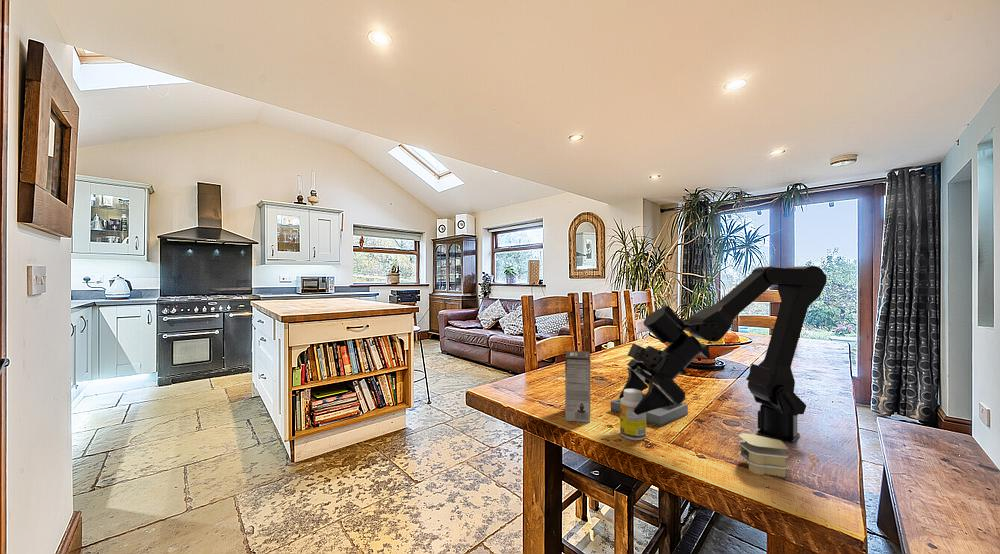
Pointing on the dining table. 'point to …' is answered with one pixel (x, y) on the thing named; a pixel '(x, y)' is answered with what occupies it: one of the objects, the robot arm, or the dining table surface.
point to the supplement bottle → (632, 416)
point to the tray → (658, 412)
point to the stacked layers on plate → (763, 454)
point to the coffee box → (577, 386)
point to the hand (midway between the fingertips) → (627, 405)
